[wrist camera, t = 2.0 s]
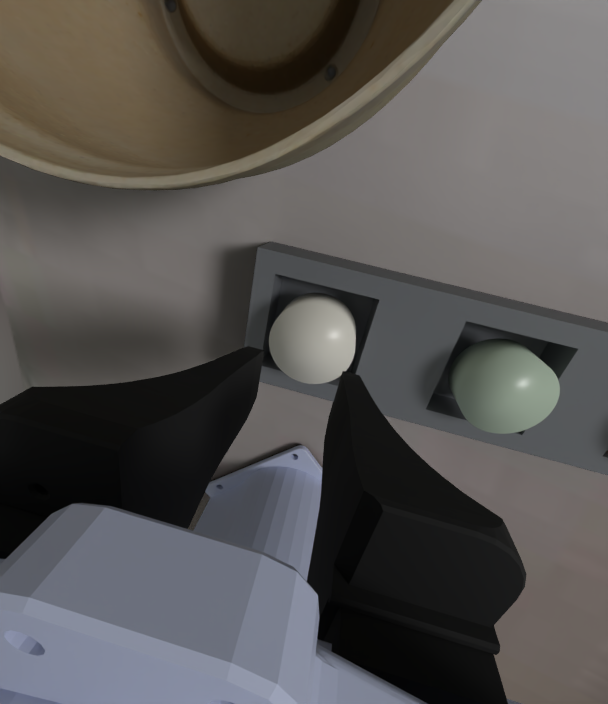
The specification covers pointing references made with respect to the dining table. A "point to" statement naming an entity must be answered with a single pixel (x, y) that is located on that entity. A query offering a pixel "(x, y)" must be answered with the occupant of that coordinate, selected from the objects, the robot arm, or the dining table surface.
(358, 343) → the button panel
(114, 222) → the dining table surface
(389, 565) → the robot arm
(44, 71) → the planter bowl
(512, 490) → the dining table surface
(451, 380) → the sage button
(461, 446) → the dining table surface
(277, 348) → the cream button
